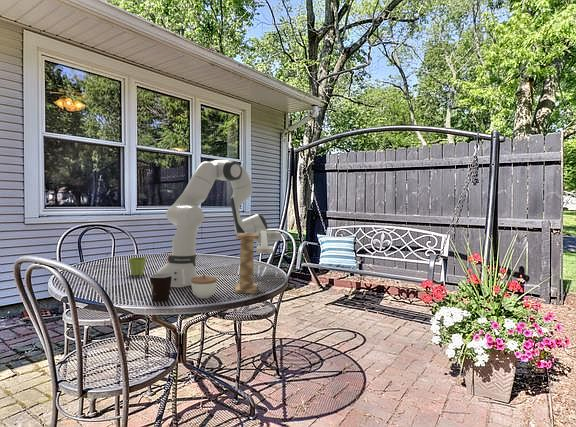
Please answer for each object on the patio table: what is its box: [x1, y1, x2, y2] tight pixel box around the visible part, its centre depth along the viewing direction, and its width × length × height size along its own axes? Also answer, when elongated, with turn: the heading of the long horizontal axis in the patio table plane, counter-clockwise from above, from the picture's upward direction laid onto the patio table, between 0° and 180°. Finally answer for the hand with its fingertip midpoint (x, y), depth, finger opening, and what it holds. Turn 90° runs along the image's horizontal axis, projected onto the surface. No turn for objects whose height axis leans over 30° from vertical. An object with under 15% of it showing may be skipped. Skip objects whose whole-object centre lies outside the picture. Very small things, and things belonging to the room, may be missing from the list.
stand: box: [234, 233, 258, 294], centre depth 169 cm, size 10×12×26 cm
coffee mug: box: [149, 273, 172, 303], centre depth 151 cm, size 12×9×10 cm
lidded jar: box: [190, 274, 218, 299], centre depth 156 cm, size 11×11×9 cm
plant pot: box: [127, 257, 148, 276], centre depth 197 cm, size 9×9×9 cm
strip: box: [256, 231, 274, 255], centre depth 188 cm, size 8×20×2 cm, turn 7°
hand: (263, 235), depth 193 cm, fingers closed on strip, 3 cm apart
